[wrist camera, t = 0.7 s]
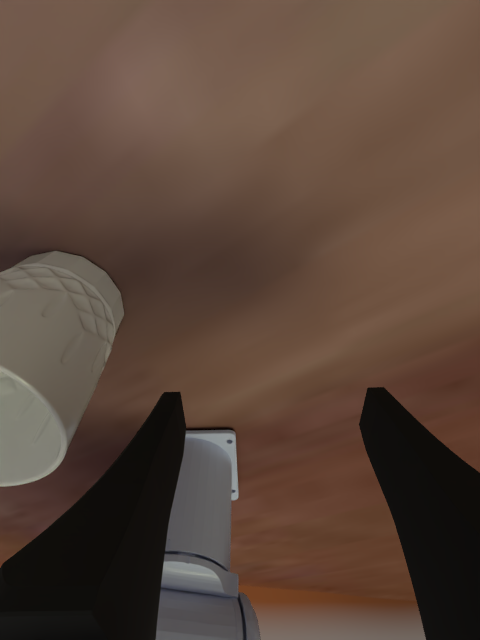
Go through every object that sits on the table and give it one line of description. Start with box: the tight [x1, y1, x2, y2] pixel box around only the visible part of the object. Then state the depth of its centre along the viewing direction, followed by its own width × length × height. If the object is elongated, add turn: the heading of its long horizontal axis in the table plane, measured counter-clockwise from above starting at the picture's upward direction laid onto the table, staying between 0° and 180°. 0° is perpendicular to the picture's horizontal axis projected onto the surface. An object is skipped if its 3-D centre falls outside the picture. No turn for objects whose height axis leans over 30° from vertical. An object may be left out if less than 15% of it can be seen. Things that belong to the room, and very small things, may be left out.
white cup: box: [0, 251, 124, 487], centre depth 17 cm, size 8×8×10 cm
